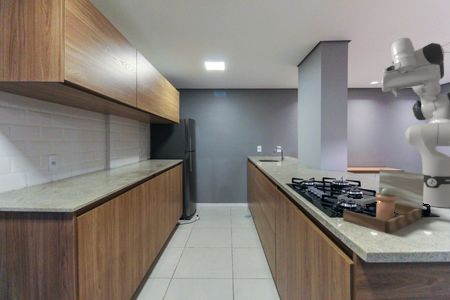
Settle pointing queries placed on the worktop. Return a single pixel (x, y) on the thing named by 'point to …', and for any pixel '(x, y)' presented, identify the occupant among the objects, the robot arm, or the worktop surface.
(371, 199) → the slate tray
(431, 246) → the worktop surface
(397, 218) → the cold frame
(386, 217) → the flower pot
